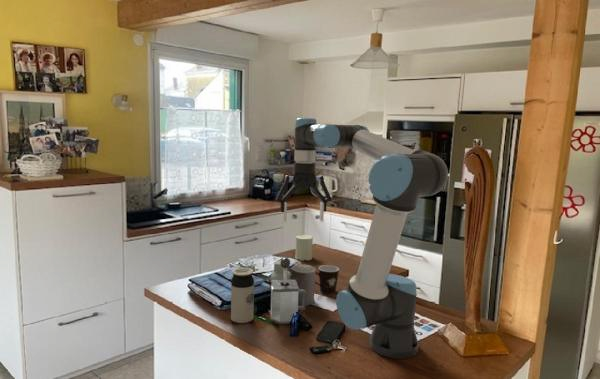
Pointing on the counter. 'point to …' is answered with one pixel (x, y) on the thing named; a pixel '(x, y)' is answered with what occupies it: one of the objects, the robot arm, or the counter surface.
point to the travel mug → (242, 295)
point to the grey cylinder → (304, 282)
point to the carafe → (285, 301)
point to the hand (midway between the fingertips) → (303, 220)
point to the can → (304, 247)
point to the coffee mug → (328, 278)
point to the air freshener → (278, 272)
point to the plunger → (285, 269)
